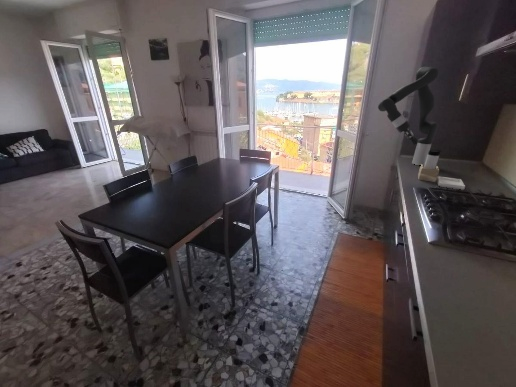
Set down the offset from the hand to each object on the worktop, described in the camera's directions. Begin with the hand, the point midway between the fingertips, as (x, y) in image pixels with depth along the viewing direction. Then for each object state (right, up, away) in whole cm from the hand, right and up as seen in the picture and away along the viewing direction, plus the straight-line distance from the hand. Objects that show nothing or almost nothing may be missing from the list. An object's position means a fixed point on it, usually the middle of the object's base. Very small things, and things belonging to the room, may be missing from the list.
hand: (416, 142), depth 156 cm
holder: (+10, -24, +5) cm, 26 cm away
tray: (+17, -29, -6) cm, 34 cm away
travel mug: (+10, -24, +5) cm, 27 cm away
